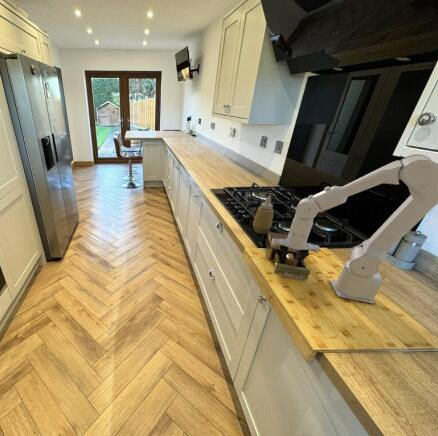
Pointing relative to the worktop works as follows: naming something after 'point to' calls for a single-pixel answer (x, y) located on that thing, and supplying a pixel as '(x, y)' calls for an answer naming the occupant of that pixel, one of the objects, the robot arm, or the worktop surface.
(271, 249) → the cabinet
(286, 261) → the small brown jar
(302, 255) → the robot arm
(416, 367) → the worktop surface
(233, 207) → the worktop surface
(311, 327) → the worktop surface
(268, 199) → the squeeze bottle
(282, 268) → the drawer
